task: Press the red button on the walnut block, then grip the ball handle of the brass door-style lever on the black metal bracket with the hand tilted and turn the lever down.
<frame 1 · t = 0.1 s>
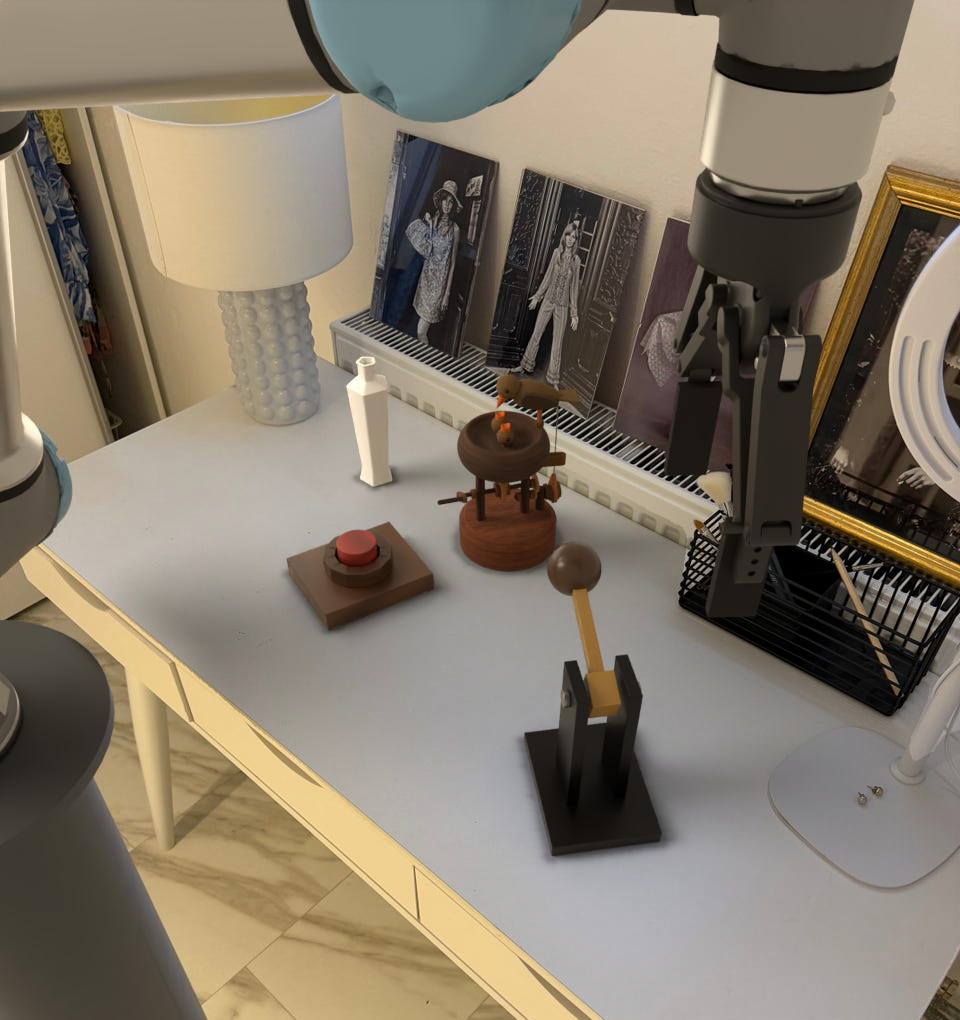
hand: (705, 537, 59), 29 cm above the table, tool pointing down, fingers open, 13 cm apart
lever bracket: (588, 788, 82), on the table
button: (357, 548, 98), point 4 cm above the table, slide at 0.1 cm
music box: (501, 543, 105), on the table
lever: (586, 625, 76), point 14 cm above the table, hinge at 20.0°
perfume bottle: (378, 477, 114), on the table
button housing: (361, 581, 101), on the table
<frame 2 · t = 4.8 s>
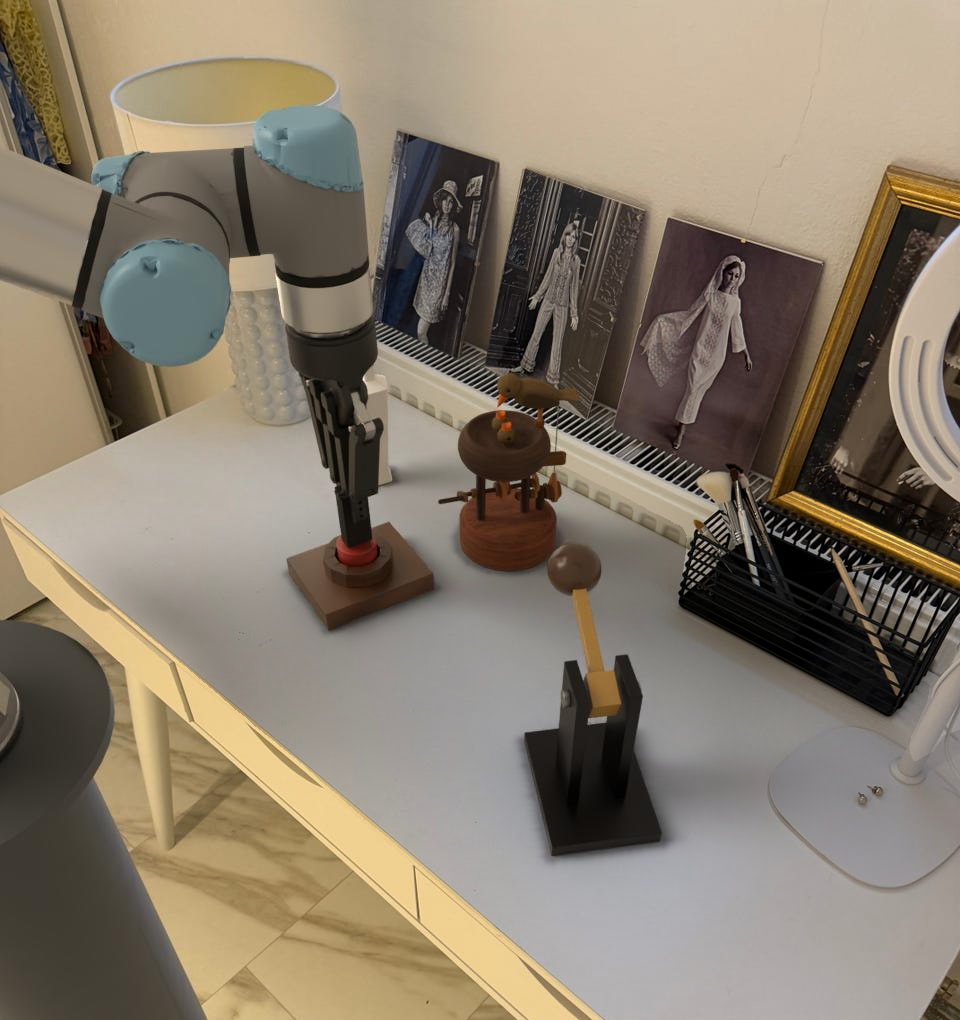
hand: (357, 539, 97), 6 cm above the table, tool pointing down, fingers closed
button: (357, 548, 98), point 4 cm above the table, slide at 0.1 cm, touching gripper
everything else where it was.
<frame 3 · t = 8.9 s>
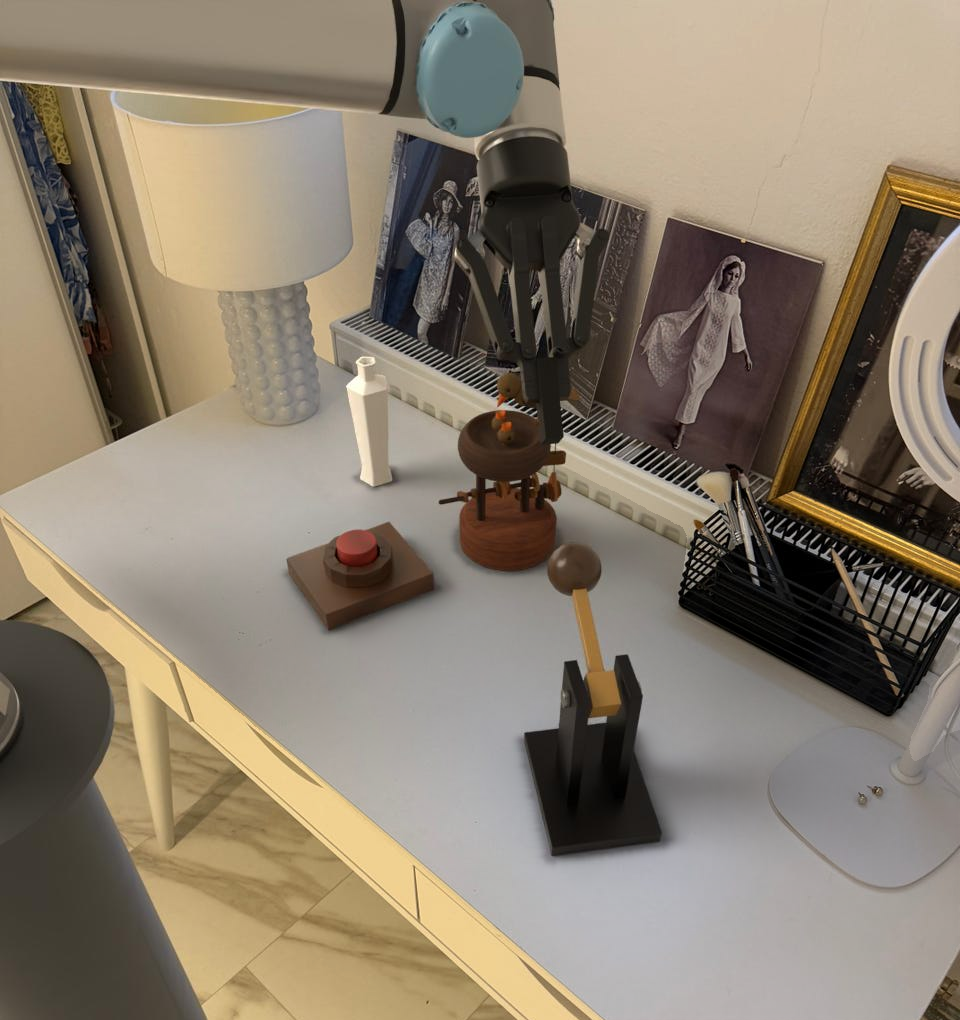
hand: (552, 440, 79), 22 cm above the table, tool tilted 45°, fingers closed
button: (357, 548, 98), point 4 cm above the table, slide at 0.1 cm
everything else where it was.
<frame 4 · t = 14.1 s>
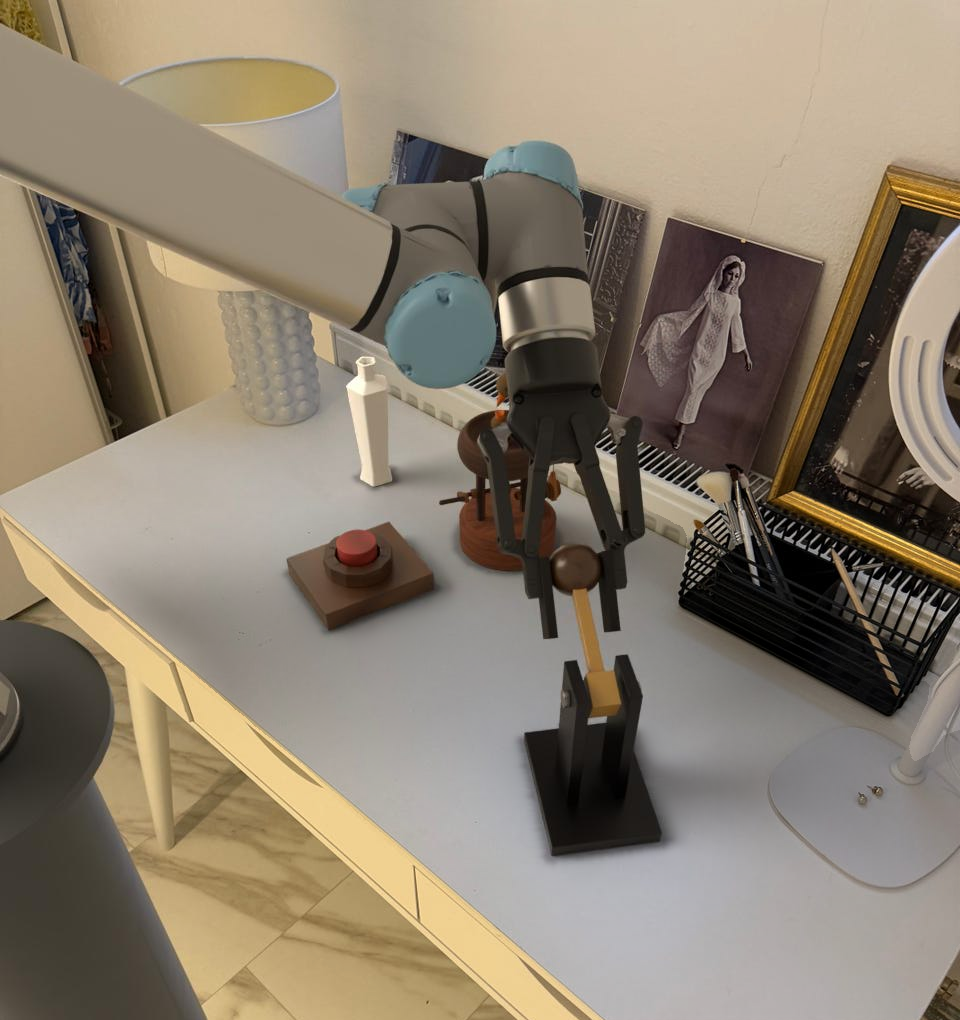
hand: (581, 634, 78), 12 cm above the table, tool tilted 45°, fingers closed on lever, 4 cm apart
lever: (586, 625, 76), point 14 cm above the table, hinge at 20.0°, touching gripper
everything else where it was.
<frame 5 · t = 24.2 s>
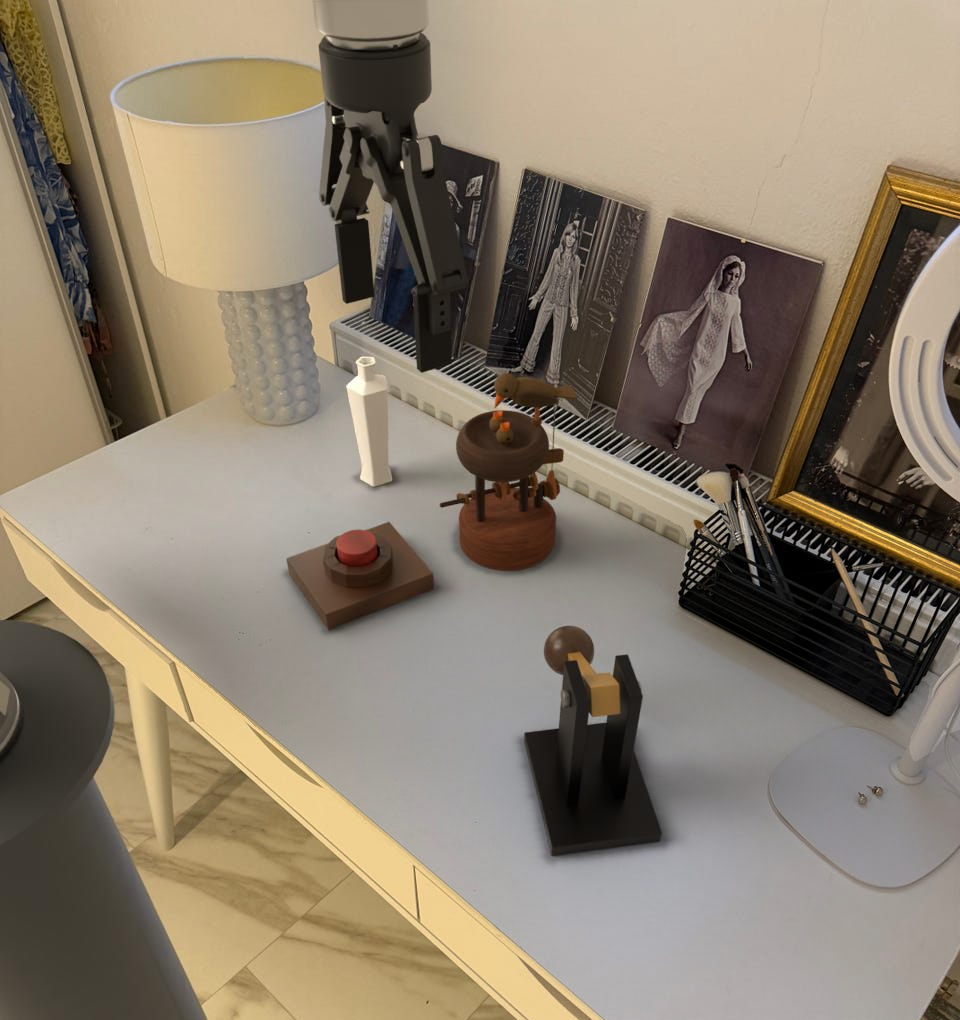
hand: (394, 331, 79), 29 cm above the table, tool pointing down, fingers open, 13 cm apart
lever: (582, 669, 79), point 9 cm above the table, hinge at -27.5°
everything else where it was.
at the end: button pushed in 1.0 cm at the most during the clip, back to where it started at the end; button slide at 0.1 cm; lever at -28° (first picture: +20°) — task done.
